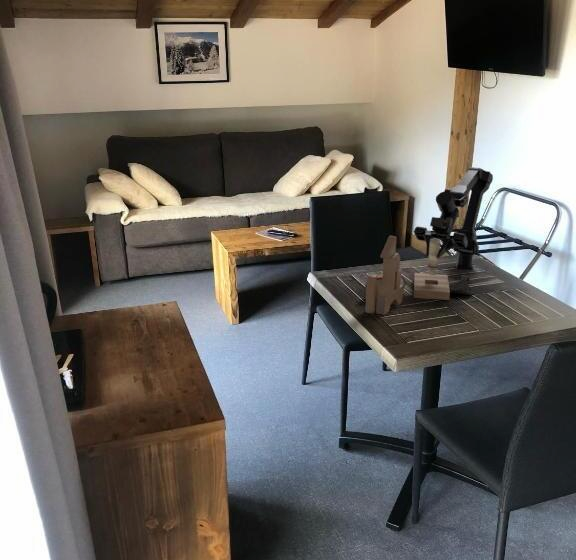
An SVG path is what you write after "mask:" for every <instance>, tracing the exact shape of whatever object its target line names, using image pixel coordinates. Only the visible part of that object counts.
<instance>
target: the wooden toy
mask: <svg viewBox="0 0 576 560" xmlns="http://www.w3.org/2000/svg"><path fill="white" fill-rule="evenodd" d="M396 250H397V237H396V236H394V235H389V236H388V237H387V240H386V243H385V244H384V247H383V249H382V251H381V254H380V256H379V257H380V258H381V259H382V261H383V263H382V274H383V276H382V280H381V282H380V284H379V286H378V287H377V276H376V275H377V274H373V273H369V274H367V276H366V282H367V290H366V291H365V293H366V295H365V313H367V314H375V313H376V314H379V315H382V316H386V314H387V315H388V313H389V312H390V308H391V305H394V306H399V305H401V304H403V299H404V298H403V295H404V293H403V292H404V290H403V285H400V282H401V276H402V269H400V268H401V255H400V254H399V253H398V252H396ZM376 287H377V299H376Z"/></svg>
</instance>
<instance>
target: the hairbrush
mask: <svg viewBox="0 0 576 560" xmlns="http://www.w3.org/2000/svg"><path fill="white" fill-rule="evenodd" d="M469 279H470V275H468V274H461V275H460V280H458V281H457V282H455V283H453V285H451V287H449V289H450V293H454V294H462V295H470V296H472V295H473V293H474V291H473V286H472V284H469V283H468V281H467V280H469Z"/></svg>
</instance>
